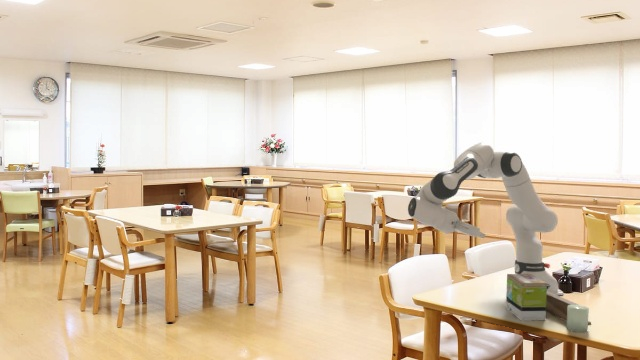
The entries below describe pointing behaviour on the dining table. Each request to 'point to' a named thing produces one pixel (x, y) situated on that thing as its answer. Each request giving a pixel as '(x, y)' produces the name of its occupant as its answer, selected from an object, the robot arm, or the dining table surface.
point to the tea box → (526, 296)
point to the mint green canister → (577, 318)
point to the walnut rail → (558, 306)
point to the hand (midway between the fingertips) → (478, 234)
